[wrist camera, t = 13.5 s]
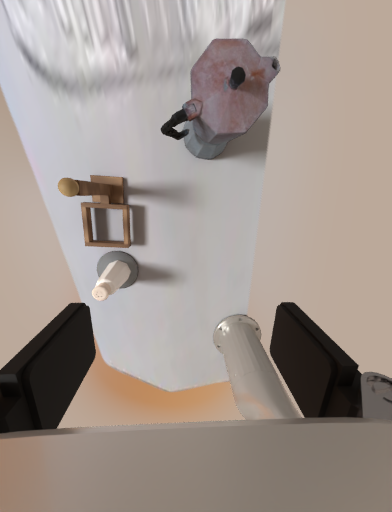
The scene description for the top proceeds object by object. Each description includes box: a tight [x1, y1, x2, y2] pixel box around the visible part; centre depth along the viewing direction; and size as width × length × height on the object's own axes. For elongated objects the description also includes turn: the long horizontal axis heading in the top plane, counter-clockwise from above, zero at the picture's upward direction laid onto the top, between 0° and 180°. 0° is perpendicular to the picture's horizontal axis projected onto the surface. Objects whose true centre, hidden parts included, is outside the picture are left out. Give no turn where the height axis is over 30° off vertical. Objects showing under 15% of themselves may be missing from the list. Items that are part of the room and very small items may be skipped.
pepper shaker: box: [92, 260, 131, 301], centre depth 40 cm, size 5×5×11 cm
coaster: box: [97, 251, 138, 288], centre depth 46 cm, size 9×9×1 cm
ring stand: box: [58, 175, 131, 248], centre depth 34 cm, size 14×9×16 cm, turn 176°
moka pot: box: [161, 39, 280, 159], centre depth 29 cm, size 10×15×20 cm, turn 121°
